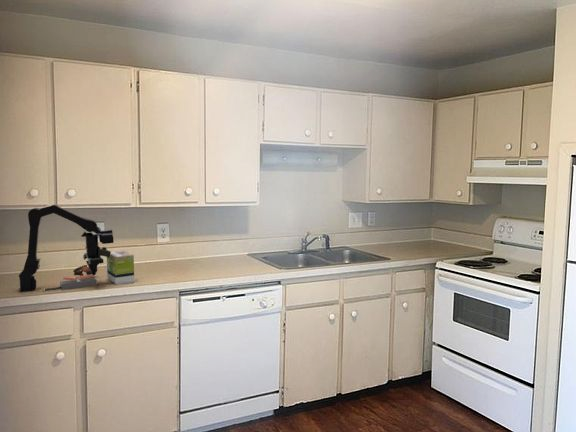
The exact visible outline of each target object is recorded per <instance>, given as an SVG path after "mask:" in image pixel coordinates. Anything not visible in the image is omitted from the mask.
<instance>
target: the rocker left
mask: <svg viewBox="0 0 576 432" xmlns="http://www.w3.org/2000/svg"><path fill="white" fill-rule="evenodd" d="M77 279H78V278H77V277H73V276H63V275H62V281H68V280H77Z"/></svg>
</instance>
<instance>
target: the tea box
mask: <svg viewBox="0 0 576 432" xmlns="http://www.w3.org/2000/svg"><path fill="white" fill-rule="evenodd" d="M134 255H135V254H131V253H130V252H128V251H125V250H119V251H111V253H110V257H109V258H108V257H106V272H107V273H106V274H107V276H106V277H107V280H109V281H111V282H112V283H113V284H115V285H122V284H130V283H134V282H135V264H134V263H135V262H134V261H135V256H134Z"/></svg>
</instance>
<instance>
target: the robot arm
mask: <svg viewBox="0 0 576 432" xmlns="http://www.w3.org/2000/svg"><path fill="white" fill-rule="evenodd" d="M52 214H55V215H56V216H59V217H61V218H64V219H66V220H67V221H70V222H73V223H75V224H77V225H78V226H79V227H81V228H82V229H84V230H85V231H84V232H83V233H82V234H81V237H82V238H85V251H86V253H83V257H82V258H83V260H84V261H85V260H86V261H85V262H86V265H87V267H89V268H90V270H91V272H92V274H93V275H94V276H95V275H97V272H96V270H97V271H98V266H99V264H104V259H103V257H106V258H107V257H108V258H109V257H110V253H111V252H112V251H110V250H108V248H107V247H105V246H103V247H100V246H99V243H101V244H102V245H106V244H107V245H109V244H114V242H115V241H114V236H113V235H114V234H113V229H108V230H101V228H100V227H98V224H97V221H95V219H92V218H88V217H83V216H80V215H78V214H76V213H74V212H71V211H69V210H67V209H65V208H62V207H61V206H58V204H51V205H49V206H46V207H41V208H39V207H34V208H31V209H30V210H29V211H28V213H27V217H28V219H27V220H28V224H29V237H28V246H27V247H28V248H27V256H26V259H25V263H24V266H23V269H22V270H21V271H20V273H19V274H18V279H19V280H18V281H19V292H21V293H22V292H29V291H35V290H37V280H36V278H35V276H34V275H35V274H36V273H37V271H38V270H39V269H40V268H41V264H40V263H41V258H38V245H39V243H38V242H39V232H40V225H41V223H42V219H43V217H45V216H49V215H52Z"/></svg>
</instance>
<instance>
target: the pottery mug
mask: <svg viewBox="0 0 576 432" xmlns="http://www.w3.org/2000/svg"><path fill="white" fill-rule="evenodd" d="M83 272H84V273H85V275H90V274H92V272H91V270H90V268H89V266H88V265H87V264H84V265H81V266H79V267H77V268H75V269H74V270H73V275H74V276H79V277H80V276H83V275H84V273H83ZM97 272H98V269H97V270H96V273H97ZM91 278H94V277H91ZM85 279H86V278H85Z"/></svg>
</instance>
